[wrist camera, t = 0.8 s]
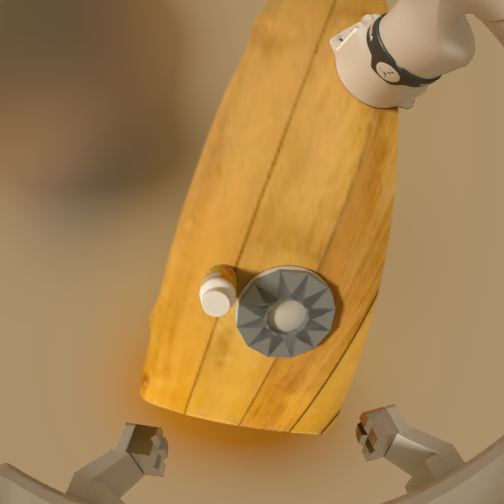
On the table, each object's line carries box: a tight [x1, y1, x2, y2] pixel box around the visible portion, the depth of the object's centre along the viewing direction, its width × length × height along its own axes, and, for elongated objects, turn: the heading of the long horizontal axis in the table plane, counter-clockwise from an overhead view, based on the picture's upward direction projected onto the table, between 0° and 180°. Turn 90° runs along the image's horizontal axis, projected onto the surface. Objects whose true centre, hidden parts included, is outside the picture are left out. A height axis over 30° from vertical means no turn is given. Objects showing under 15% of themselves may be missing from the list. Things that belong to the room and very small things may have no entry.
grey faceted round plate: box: [235, 265, 336, 357], centre depth 47 cm, size 18×18×2 cm
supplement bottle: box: [200, 265, 237, 317], centre depth 41 cm, size 5×5×10 cm
